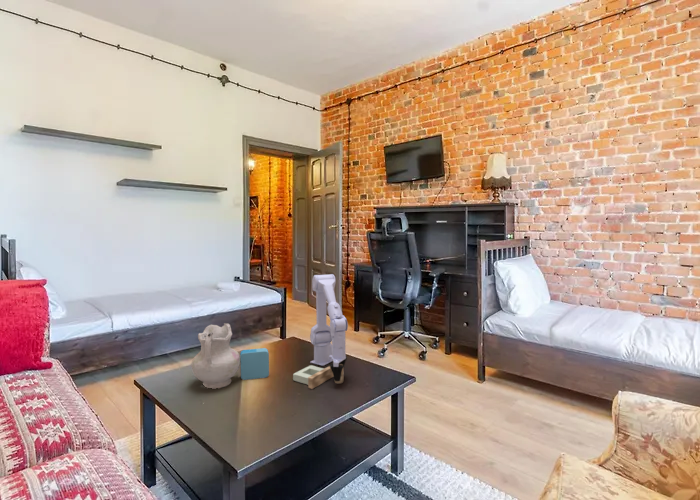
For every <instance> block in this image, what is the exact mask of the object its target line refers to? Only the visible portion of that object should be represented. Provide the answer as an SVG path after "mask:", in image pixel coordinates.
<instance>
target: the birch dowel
mask: <svg viewBox="0 0 700 500" xmlns="http://www.w3.org/2000/svg"><path fill="white" fill-rule="evenodd" d="M340 365H342V364H340ZM344 369H345V366H344V367H343V369H342V372H341V378H340V381H335V380H334V379H333V382H334V383H335V384H338V385H339V384H344Z"/></svg>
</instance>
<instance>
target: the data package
mask: <svg viewBox="0 0 700 500" xmlns="http://www.w3.org/2000/svg"><path fill="white" fill-rule="evenodd" d="M239 356H240V378H241V380H243V381H247V380H256V379H266V378H268V377H269V375H270V354H269V349H267V347H262V348H252V349H251V348H249V349H242V350H241V351H240V353H239Z"/></svg>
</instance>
